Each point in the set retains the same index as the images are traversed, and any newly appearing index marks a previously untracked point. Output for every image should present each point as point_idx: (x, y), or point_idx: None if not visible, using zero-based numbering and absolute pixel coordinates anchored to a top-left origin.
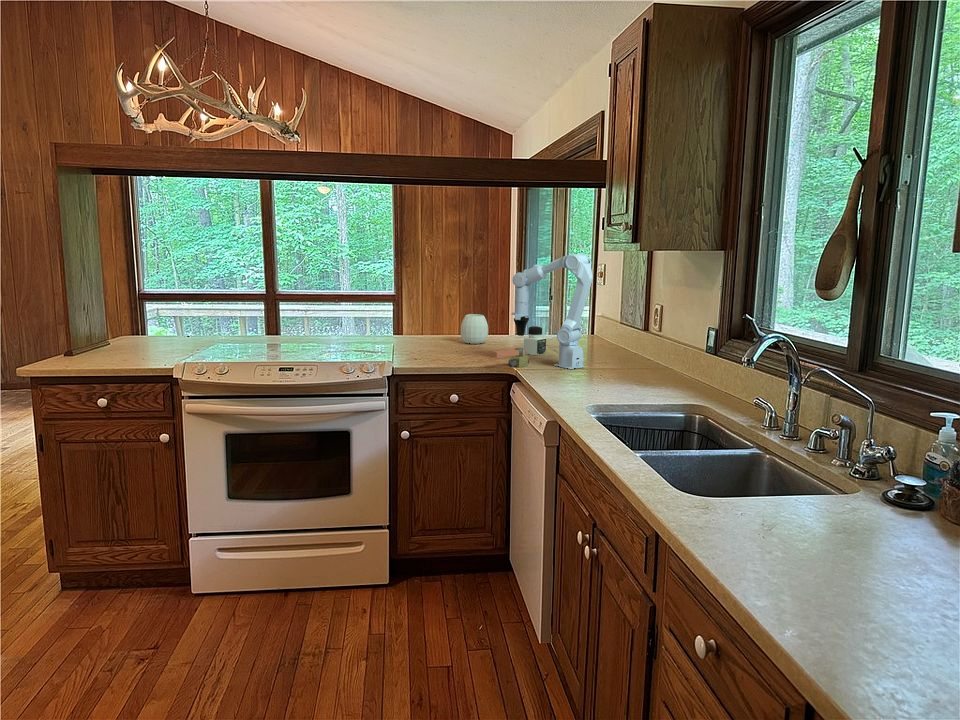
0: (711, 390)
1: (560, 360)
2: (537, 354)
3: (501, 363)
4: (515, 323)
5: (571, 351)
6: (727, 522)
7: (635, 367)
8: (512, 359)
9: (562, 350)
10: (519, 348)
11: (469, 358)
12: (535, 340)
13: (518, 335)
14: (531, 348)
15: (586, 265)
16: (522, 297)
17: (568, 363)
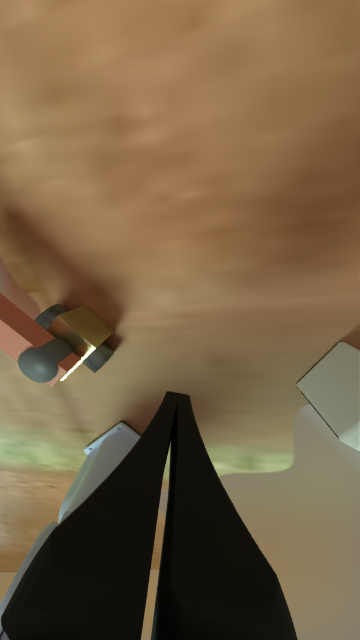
0: (17, 566)
1: (101, 450)
2: (298, 388)
3: (112, 271)
4: (97, 487)
5: (62, 507)
6: None
7: (156, 538)
8: (39, 323)
9: (78, 490)
10: (43, 368)
11: (201, 73)
12: (345, 428)
13: (166, 393)
14: (330, 383)
15: None
16: None
17: (89, 459)
